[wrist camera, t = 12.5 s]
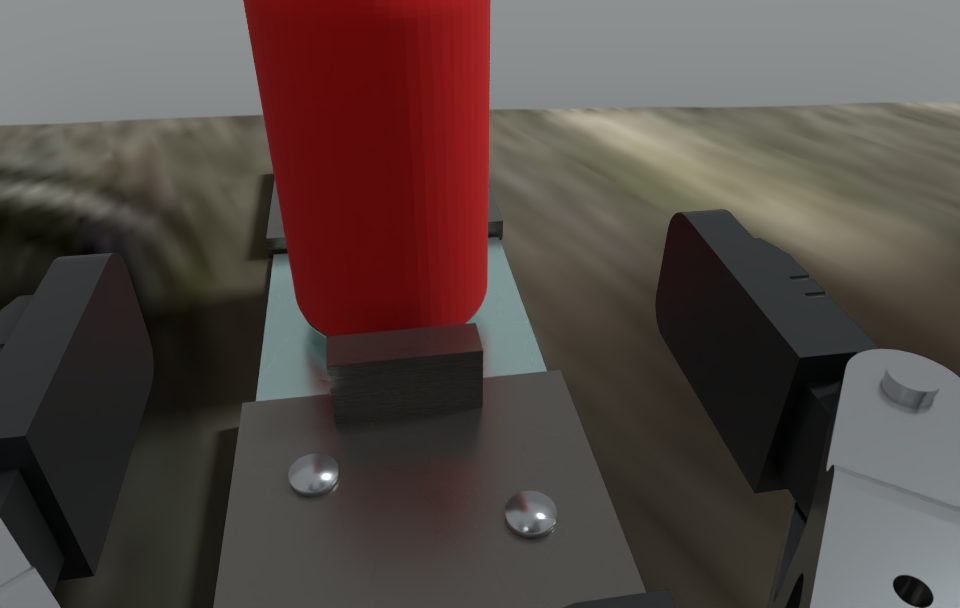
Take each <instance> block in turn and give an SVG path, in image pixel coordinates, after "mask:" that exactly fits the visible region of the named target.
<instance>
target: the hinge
mask: <svg viewBox="0 0 960 608" xmlns="http://www.w3.org/2000/svg"><path fill="white" fill-rule="evenodd" d="M502 235H503V220H502V217H501V215H500V212H499V209H498V207H497V204H496V202H495V199H494V196H493V194H492V191H491V189H490V186H489V184H488V282H487V292H486V295H485V298H484V301H483V303H482V305H481V307H480V308H479V310H478V311H477V312H476V314H475V315H474V316H473V317H472V318H471V319H470V320H469V321H468V322H466V323H465V324H458V325H448V326H437V327H426V328H415V329H405V330H394V331H383V332H373V333H362V334H351V335H341V336H330V337H326V338H325V337H324V336H322V335H321V334H319V333H318V332H317V331H315V330H314V329H313V328H312V327H311V326H310V325H309V324H308V322H307V321H306V319H305V318H304V316H303V314H302V313H301V311H300V309H299V307H298V305H297V301H296V297H295V291H294V286H293V280H292V274H291V269H290V263H289V257H288V251H287V246H286V240H285V234H284V229H283V223H282V217H281V212H280V206H279V200H278V194H277V189H276V183H275V180H274V187H273V194H272V201H271V208H270V215H269V222H268V229H267V236H266V241H267V246H268V251H269V257H272V256H273V265H272V273H271V281H270V289H269V297H268V306H267V314H266V322H265V330H264V338H263V347H262V355H261V363H260V371H259V379H258V387H257V396H256V401H254V402H245V403H242V410H241V417H240V424H239V431H238V438H237V445H236V452H235V459H234V466H233V473H232V480H231V487H230V494H229V501H228V508H227V515H226V522H225V529H224V536H223V543H222V550H221V557H220V564H219V571H218V578H217V585H216V592H215V599H214V606H213V608H563V607H566V606H568V605H571V604H573V603H577V602H584V601H591V600H598V599H605V598H611V597H618V596H625V595H632V594H639V593H646V590H645V587H644V585H643V582H642V580H641V577H640V574H639V572H638V569H637V567H636V564H635V561H634V559H633V556H632V554H631V551H630V548H629V546H628V543H627V541H626V538H625V536H624V533H623V530H622V528H621V525H620V523H619V520H618V517H617V515H616V512H615V510H614V507H613V504H612V502H611V499H610V497H609V494H608V492H607V489H606V486H605V484H604V481H603V479H602V476H601V473H600V471H599V468H598V466H597V463H596V460H595V458H594V455H593V453H592V450H591V448H590V445H589V442H588V440H587V437H586V435H585V432H584V429H583V427H582V424H581V422H580V419H579V416H578V414H577V411H576V409H575V406H574V404H573V401H572V398H571V396H570V393H569V391H568V388H567V385H566V383H565V380H564V378H563V375H562V372H561V370H553V371H547V369H546V367H545V364H544V361H543V358H542V356H541V353H540V350H539V347H538V345H537V342H536V339H535V336H534V334H533V331H532V328H531V325H530V323H529V320H528V317H527V314H526V312H525V309H524V306H523V303H522V301H521V298H520V295H519V292H518V290H517V287H516V284H515V281H514V278H513V276H512V273H511V270H510V267H509V265H508V262H507V259H506V256H505V254H504V251H503V248H502V245H501V243H500V240H499V239H502Z"/></svg>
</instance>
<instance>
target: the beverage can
mask: <svg viewBox="0 0 960 608" xmlns="http://www.w3.org/2000/svg"><path fill="white" fill-rule="evenodd" d="M243 1H244V7H245V12H246V18H247V24H248V29H249V35H250V41H251V46H252V51H253V58H254V63H255V69H256V75H257V80H258V86H259V92H260V98H261V103H262V109H263V115H264V120H265V126H266V132H267V138H268V143H269V149H270V155H271V160H272V166H273V172H274V177H275V183H276V189H277V194H278V200H279V206H280V212H281V217H282V223H283V229H284V234H285V240H286V246H287V251H288V257H289V263H290V269H291V274H292V280H293V286H294V291H295V297H296V301H297V305H298V307H299V309H300V311H301V313H302V314H303V316H304V318H305V319H306V321H307V322H308V324H309V325H310V326H311V327H312V328H313V329H314V330H315V331H317V332H318V333H319V334H321V335H322V336H324V337H325V338H326V337H330V336H341V335H351V334H362V333H373V332H383V331H394V330H405V329H415V328H426V327H437V326H448V325H458V324H465V323H466V322H468V321H469V320H470V319H471V318H472V317H473V316H474V315H475V314H476V312H477V311H478V310H479V308H480V307H481V305H482V303H483V301H484V298H485V295H486V292H487V282H488V181H489V78H490V0H243Z"/></svg>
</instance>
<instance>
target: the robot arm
mask: <svg viewBox="0 0 960 608" xmlns="http://www.w3.org/2000/svg"><path fill="white" fill-rule="evenodd" d="M656 318H657V323H658V327H659V330H660V333H661V335H662V337H663V339H664V341H665V342H666V344H667V346H668V347H669V349H670V351H671V352H672V354H673V356H674V357H675V359H676V361H677V363H678V364H679V366H680V368H681V369H682V371H683V373H684V374H685V376H686V378H687V379H688V381H689V383H690V385H691V386H692V388H693V390H694V391H695V393H696V395H697V396H698V398H699V400H700V401H701V403H702V405H703V407H704V408H705V410H706V412H707V413H708V415H709V417H710V418H711V420H712V422H713V423H714V425H715V427H716V429H717V430H718V432H719V434H720V435H721V437H722V439H723V440H724V442H725V444H726V445H727V447H728V449H729V451H730V452H731V454H732V456H733V457H734V459H735V461H736V462H737V464H738V466H739V467H740V469H741V471H742V473H743V474H744V476H745V478H746V479H747V481H748V483H749V484H750V486H751V488H752V489H753V491H754V493H759V492H767V491H775V490H782V489H788V490H789V491H790V493H791V494H792V496H793V497H794V499H795V501H794V503H793V506H792V509H791V511H790V514H789V517H788V521H787V525H786V529H785V533H784V538H783V542H782V546H781V551H780V555H779V559H778V563H777V568H776V572H775V576H774V581H773V585H772V589H771V593H770V598H769V602H768V606H767V608H960V377H958V376H957V375H956V374H954V373H953V372H952V371H950V370H949V369H947V368H946V367H944V366H942V365H940V364H938V363H936V362H934V361H932V360H930V359H927V358H925V357H923V356H919V355H916V354H913V353H909V352H905V351H900V350H893V349H880V348H879V347H878V346H877V345H876V344H875V343H874V342H873V341H872V340H871V339H870V338H869V337H868V336H867V335H866V334H865V333H864V332H863V331H862V330H861V328H860V327H859V326H858V325H857V324H856V323H855V322H854V321H853V320H852V319H851V318H850V317H849V316H848V315H847V314H846V313H845V312H844V311H843V310H842V309H841V308H840V307H839V306H838V305H837V304H836V302H835V301H834V300H833V299H832V298H831V297H830V296H825V291H824V290H823V289H822V288H821V287H820V286H819V285H818V284H817V283H816V282H815V281H814V280H813V279H809V274H808V273H807V272H806V271H805V270H804V269H803V268H802V267H801V266H800V265H799V264H798V263H797V262H796V261H795V260H794V259H793V258H792V257H791V256H790V255H789V254H787V253H786V252H784V251H782V250H780V249H778V248H777V247H775V246H773V245H771V244H770V243H768V242H766V241H764V240H762V239H761V238H756V239H754V238H753V237H752V236H751V235H750V234H749V233H748V232H747V231H746V229H745V228H744V227H743V226H742V225H741V224H740V223H739V222H738V221H737V220H736V219H735V217H734V216H733V215H732V214H731V213H730V212H729V211H727V210H724V209H720V210H707V211H693V212H680V213H676V214H675V215H674V216H673V217H672V219H671V221H670V224H669V227H668V232H667V238H666V244H665V249H664V255H663V260H662V266H661V272H660V277H659V283H658V289H657V294H656ZM153 374H154V360H153V351H152V346H151V342H150V338H149V335H148V332H147V329H146V326H145V322H144V319H143V316H142V313H141V310H140V307H139V304H138V301H137V298H136V294H135V291H134V288H133V285H132V282H131V279H130V276H129V273H128V270H127V267H126V264H125V262H124V260H123V259H122V257H121V256H120V255H119V254H117V253H108V254H94V255H81V256H67V257H58V258H56V259H55V260H54V262H53V263H52V265H51V266H50V268H49V270H48V271H47V273H46V275H45V277H44V278H43V280H42V282H41V284H40V285H39V287H38V289H37V290H36V292H35V294H34V295H27V296H19V297H17V298H16V299H15V300H14V301H12V302H11V303H10V304H8V305H7V306H6V307H5V308H3V309H2V310H1V311H0V608H61V607H60V606H59V604H58V603H57V601H56V600H55V598H54V597H53V592H54V589H55V586H56V583H57V581H60V580H68V579H76V578H84V577H91V576H95V572H96V569H97V566H98V562H99V559H100V556H101V552H102V549H103V546H104V542H105V539H106V536H107V532H108V529H109V526H110V522H111V519H112V516H113V512H114V509H115V506H116V502H117V499H118V496H119V492H120V489H121V486H122V482H123V479H124V476H125V473H126V469H127V466H128V463H129V459H130V456H131V453H132V449H133V446H134V443H135V439H136V436H137V433H138V429H139V426H140V423H141V419H142V416H143V413H144V409H145V406H146V403H147V399H148V396H149V393H150V389H151V386H152V382H153ZM563 608H676V607H675V604H674V602H673V600H672V597H671V595H670V592H669V590H668V589H666V590H659V591H653V592H646V593H639V594H632V595H625V596H618V597H611V598H605V599H598V600H591V601H584V602H577V603H573V604H571V605H568V606H566V607H563Z"/></svg>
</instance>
